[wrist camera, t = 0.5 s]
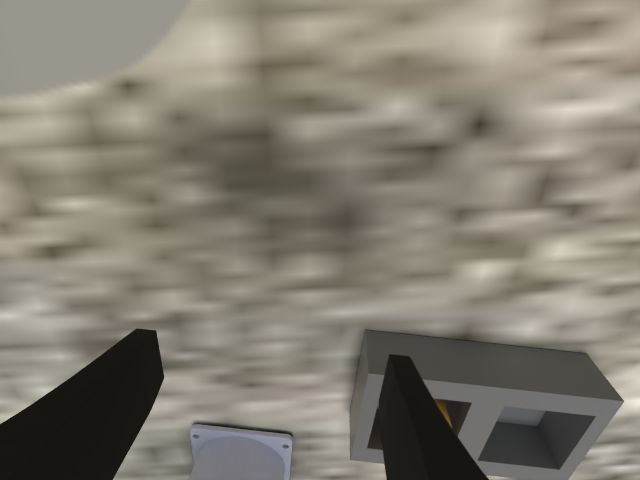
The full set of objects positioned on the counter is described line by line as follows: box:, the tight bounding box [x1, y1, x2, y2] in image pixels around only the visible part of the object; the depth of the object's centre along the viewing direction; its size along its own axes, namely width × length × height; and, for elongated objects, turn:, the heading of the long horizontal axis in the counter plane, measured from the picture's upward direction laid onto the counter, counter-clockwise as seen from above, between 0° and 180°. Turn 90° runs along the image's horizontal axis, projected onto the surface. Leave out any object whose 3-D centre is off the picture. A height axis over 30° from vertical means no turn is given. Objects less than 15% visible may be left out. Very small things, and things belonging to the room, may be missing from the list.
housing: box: [350, 330, 624, 480], centre depth 22 cm, size 8×14×6 cm, turn 85°
